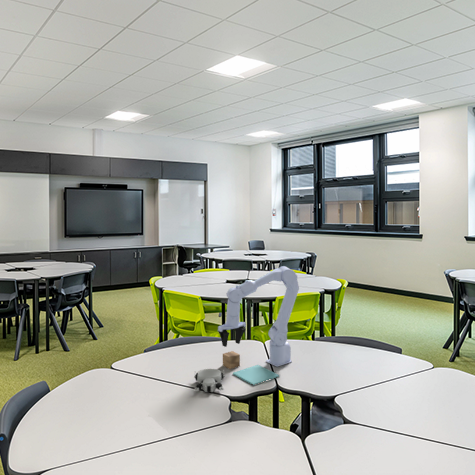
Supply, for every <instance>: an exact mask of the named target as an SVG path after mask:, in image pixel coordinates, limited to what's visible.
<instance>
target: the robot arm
mask: <svg viewBox="0 0 475 475" xmlns="http://www.w3.org/2000/svg"><path fill="white" fill-rule="evenodd" d="M272 281H273V282H274V281H275V282H283V284H284V286H285V289H286V290H285V293H284V296H283V299H282V302H281V305H280V308H279V311H278V314H277V318H276V320H275V321H274V322H273V324H272V326H271V327H270V329H269V330H268V336H269V338H270V340H269V359H265V362H266V363H268V364H271V365H273V367H274V366H275V367H276V368H277V367H280V366H284V365H287V364H289V363H292V359H291V353H292V351H291V345H290V343H289V342H288V323H289V320H290V318H291V314H292V312H293V309H294V305H295V302H296V299H297V297H298V294H299V290H300V286H299V282H298V275H297V273H296V272H295V271H294V270H293V269H291V268H289V267H287V266H285V265H283V266H282V265H281V266H280V267H278V268H274V269H273V270H271V271H270V272H267V273H266V274H263V276H260V277H259V278H257V279H254V280H253V279H249V280H248V279H246V280H245V281H244V282H243V283H241V284H238V285H235V286H234V287H230V288H229V289H228V290H227V292H226V297H227V305H226V316H225V317H226V319H225V323H224V324H221V325H219V326H217V332H218V334H219V338H220V340H221V344H222V347H224V348H225V347H226V348H227V346H228V339H229V335H230V332H228V331H229V330H233V329H234V333H235V335H234V336H235V340H234V341H235V344H238V345H239V344H240V343H241V339H242V338H243V335H244V334H245V332H246V326H247V324H246V322H245V321H240V311H241V310H240V309H241V305H240V304H241V301H242V299H243V298H246V297H248V296H249V295H251V294H253V293H255V292H257V290H258V288H259V287H262V286H264V285H266V284H268V283H271V282H272Z"/></svg>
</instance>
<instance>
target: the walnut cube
mask: <svg viewBox="0 0 475 475" xmlns="http://www.w3.org/2000/svg"><path fill="white" fill-rule="evenodd" d="M240 361H241V354H240V353H238V352H235V351H233V350H231V351H228V352H224V353H222V366H223V367H225V368H227V369H228V368H229V369H228V370H232V368H233V369H235V367H236V368H239V367H241V365H240V364H241V362H240ZM238 366H239V367H238Z"/></svg>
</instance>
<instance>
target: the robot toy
mask: <svg viewBox="0 0 475 475" xmlns="http://www.w3.org/2000/svg"><path fill="white" fill-rule="evenodd" d="M222 371H223V372H222ZM222 371H221V370H219V369H216V368H207V369H206V368H205V369H200V370H198V372H195V374H194V377H193V378H194V379H195V381H197V385H195V387H194V391H196V392H199V391H200V390H202V391H204V393H213V392H214V391H215V390H216V389H217V390H219V391H223V390H225V389H224V387H223V385H222V384H221V382H222V381H223V379H224V378H225V374H224V372H225V369H223V370H222Z"/></svg>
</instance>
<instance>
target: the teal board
mask: <svg viewBox="0 0 475 475" xmlns="http://www.w3.org/2000/svg"><path fill="white" fill-rule="evenodd" d="M232 375H233V376H235V377H236V376H237V377H236V378H238V377H239V379H240V378H241V379H240V380H242V381H243V382H245V381H246V382H245V383H247V382H248V383H247V384H249V383H250V384H249V385H251V384H253V385H255V384H258V383H261V382H263V381H266V380H269V379H272V380H274V379H273V378H275V379H277V378H276V377H278V378H280V374H277V373H276V372H274V371H272V370H270V369H268V368H266V367H264V366H261V365H259V364H256V365H253V366H250V367H247V368H243V369H240V370H237V371H234V372H232ZM269 381H270V380H269ZM266 382H267V381H266ZM261 384H262V383H261ZM253 385H252V386H253ZM258 385H259V384H258ZM255 386H256V385H255Z"/></svg>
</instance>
